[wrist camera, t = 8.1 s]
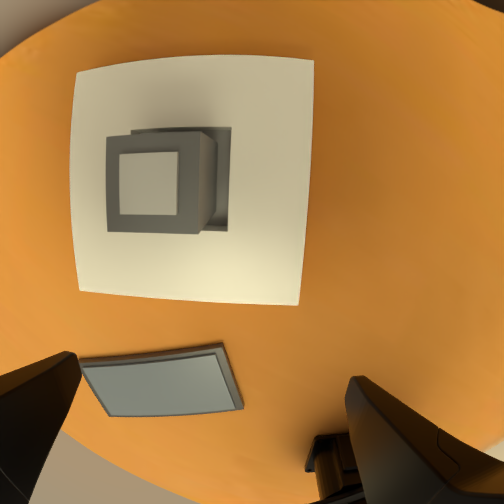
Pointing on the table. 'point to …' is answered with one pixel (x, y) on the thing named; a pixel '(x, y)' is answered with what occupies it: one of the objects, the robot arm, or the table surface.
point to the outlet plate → (228, 176)
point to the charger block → (160, 182)
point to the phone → (164, 382)
